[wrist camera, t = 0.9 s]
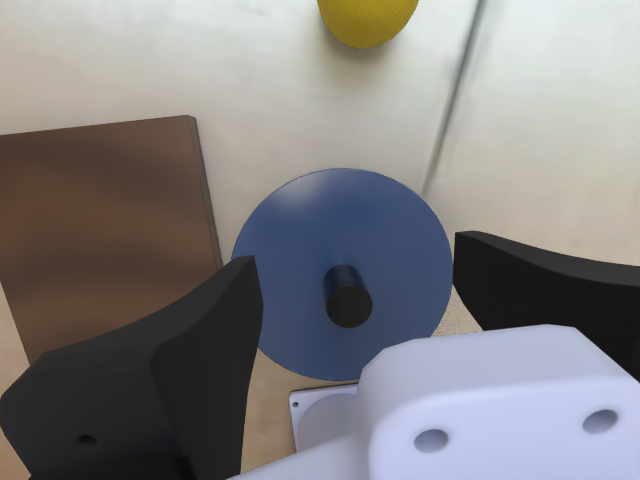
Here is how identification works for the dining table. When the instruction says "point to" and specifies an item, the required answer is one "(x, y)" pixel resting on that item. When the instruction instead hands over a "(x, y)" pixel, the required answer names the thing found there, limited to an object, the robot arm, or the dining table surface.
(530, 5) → the dining table surface
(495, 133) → the dining table surface
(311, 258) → the lid
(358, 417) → the robot arm
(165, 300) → the board
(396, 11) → the lemon
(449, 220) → the dining table surface
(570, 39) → the dining table surface
